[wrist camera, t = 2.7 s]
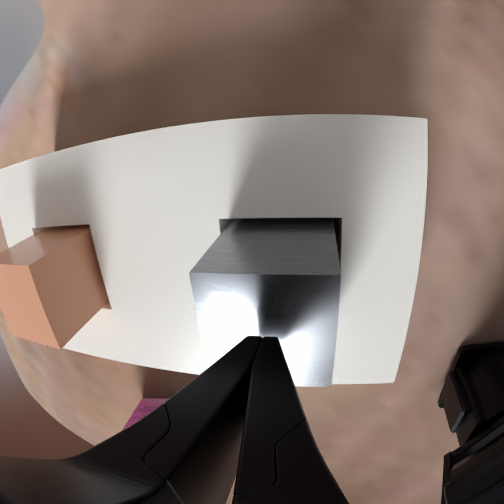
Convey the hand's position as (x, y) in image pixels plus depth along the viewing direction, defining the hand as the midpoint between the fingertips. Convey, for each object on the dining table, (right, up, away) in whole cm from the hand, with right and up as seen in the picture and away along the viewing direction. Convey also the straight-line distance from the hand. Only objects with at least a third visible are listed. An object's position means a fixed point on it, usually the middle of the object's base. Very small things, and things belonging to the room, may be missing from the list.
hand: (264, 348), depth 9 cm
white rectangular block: (-3, +4, +11) cm, 12 cm away
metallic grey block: (+1, +2, +5) cm, 6 cm away
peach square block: (-10, +2, +8) cm, 13 cm away
